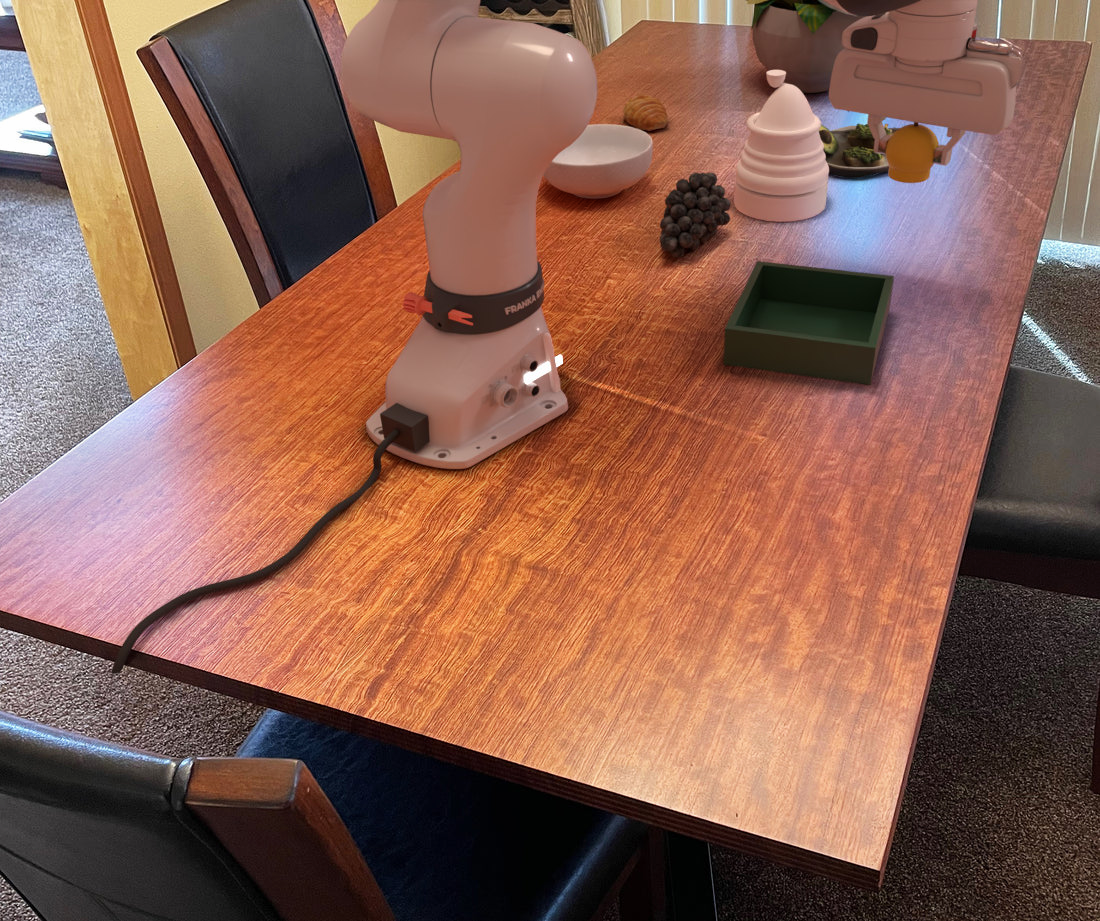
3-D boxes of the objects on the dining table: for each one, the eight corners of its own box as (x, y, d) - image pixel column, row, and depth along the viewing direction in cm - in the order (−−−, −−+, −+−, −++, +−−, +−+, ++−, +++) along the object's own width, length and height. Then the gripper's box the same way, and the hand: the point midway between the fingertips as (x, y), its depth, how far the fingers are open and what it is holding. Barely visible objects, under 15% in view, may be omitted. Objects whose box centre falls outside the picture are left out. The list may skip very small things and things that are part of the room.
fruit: (680, 203, 137) (728, 158, 147) (624, 213, 142) (674, 169, 152) (699, 267, 141) (745, 219, 151) (644, 274, 146) (692, 227, 156)
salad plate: (874, 125, 181) (878, 96, 178) (950, 159, 168) (955, 129, 165) (775, 148, 175) (777, 119, 172) (846, 186, 161) (849, 155, 159)
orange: (940, 184, 126) (949, 124, 122) (888, 186, 127) (896, 126, 122) (928, 165, 131) (937, 106, 127) (878, 166, 131) (885, 108, 127)
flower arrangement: (880, 66, 205) (897, -78, 191) (881, 111, 186) (901, -46, 171) (744, 64, 211) (751, -77, 196) (732, 107, 191) (739, -45, 177)
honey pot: (716, 208, 157) (721, 80, 147) (763, 178, 165) (771, 55, 155) (797, 229, 150) (808, 96, 140) (842, 197, 158) (856, 69, 148)
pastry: (677, 129, 184) (677, 106, 182) (639, 136, 182) (639, 113, 180) (655, 112, 191) (655, 90, 189) (619, 118, 190) (618, 96, 187)
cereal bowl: (609, 159, 175) (608, 114, 171) (675, 190, 163) (676, 144, 159) (518, 186, 168) (515, 141, 163) (581, 221, 156) (579, 173, 152)
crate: (869, 391, 117) (875, 347, 114) (722, 370, 122) (724, 328, 119) (888, 316, 130) (894, 275, 127) (754, 300, 135) (757, 260, 132)
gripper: (1036, 37, 116) (1011, 164, 124) (852, 15, 126) (840, 134, 135) (1017, 54, 112) (992, 184, 120) (828, 29, 122) (817, 151, 131)
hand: (910, 157), depth 127 cm, fingers closed on orange, 5 cm apart
